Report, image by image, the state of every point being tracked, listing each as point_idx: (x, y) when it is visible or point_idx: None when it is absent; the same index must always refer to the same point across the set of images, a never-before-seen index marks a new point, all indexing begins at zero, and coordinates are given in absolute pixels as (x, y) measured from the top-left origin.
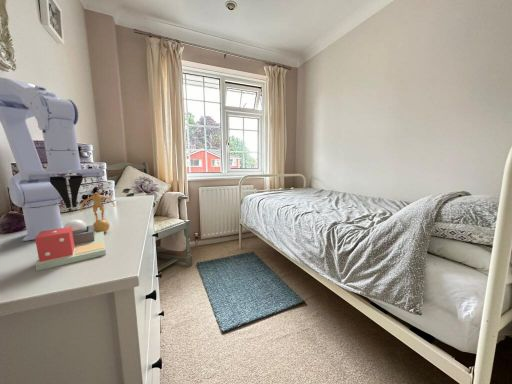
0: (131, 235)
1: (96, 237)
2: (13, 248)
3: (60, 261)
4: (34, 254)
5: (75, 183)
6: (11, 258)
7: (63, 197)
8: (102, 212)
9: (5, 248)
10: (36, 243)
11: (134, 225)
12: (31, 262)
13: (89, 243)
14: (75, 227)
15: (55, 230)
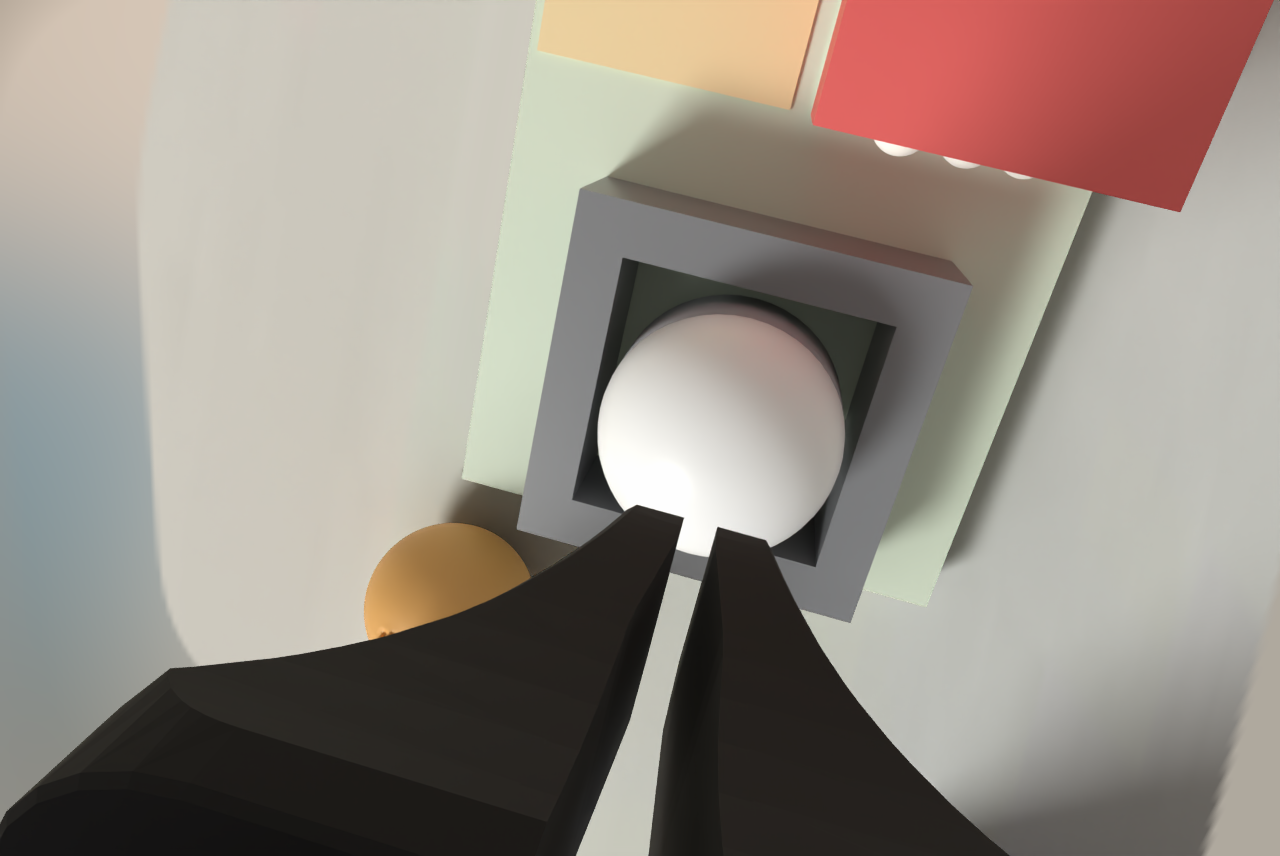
0: (256, 189)
1: None
2: (1158, 782)
3: None
4: (1087, 427)
5: (370, 702)
6: (1249, 491)
7: (796, 641)
8: None
9: (1201, 840)
10: None
11: (171, 536)
12: None
13: (665, 127)
14: (732, 328)
15: (1030, 63)
